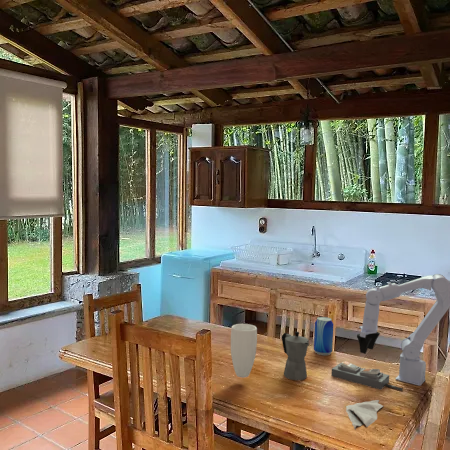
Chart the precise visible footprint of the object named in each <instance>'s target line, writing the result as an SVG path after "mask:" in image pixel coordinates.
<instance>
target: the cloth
mask: <svg viewBox="0 0 450 450" xmlns="http://www.w3.org/2000/svg"><path fill="white" fill-rule="evenodd" d="M379 402H380V400H379V399H375V400H373V399H372V400H370V401H363V402H357V403H354V404H349V405H346V406H345V408H346V409H345V412H346V413H347V416H348V419H349V420H350V422H351V423H352V426H353V427H354V428H353V429H354V430H355V431H357V430H356V428H357V427H361V426H364V425H365V426H366V428H368V427H369V426H370V425H372V424H373V423H375V421H377V420H378V414H377V412H378V411H379V410H380V409H382V408H384V405H382V404H381V403H379Z"/></svg>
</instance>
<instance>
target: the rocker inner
mask: <svg viewBox="0 0 450 450" xmlns="http://www.w3.org/2000/svg"><path fill="white" fill-rule="evenodd" d="M362 372H364V373H368V374H378V373H379V372H381V369H379V368H366V369H365V370H363V371H362Z"/></svg>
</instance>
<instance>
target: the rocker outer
mask: <svg viewBox="0 0 450 450" xmlns="http://www.w3.org/2000/svg"><path fill="white" fill-rule="evenodd" d="M341 363H342V364H341V365H342V366H344V367H346V368H349V369H353V370H356V369H358V367H359V366H357V365H356V364H353V363H351V362H349V361H347V360H344V361H342V362H341Z"/></svg>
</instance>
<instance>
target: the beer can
mask: <svg viewBox="0 0 450 450" xmlns="http://www.w3.org/2000/svg"><path fill="white" fill-rule="evenodd" d="M313 335H314V336H313V351H314V352H315V354H316V353H317V355H320V356H329V355H331V354H332V352H333V344H334V343H333V341H334V323H333V321H332V318H331V317H327V316H318V317H317V318H316V320H315V322H314V334H313Z"/></svg>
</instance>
